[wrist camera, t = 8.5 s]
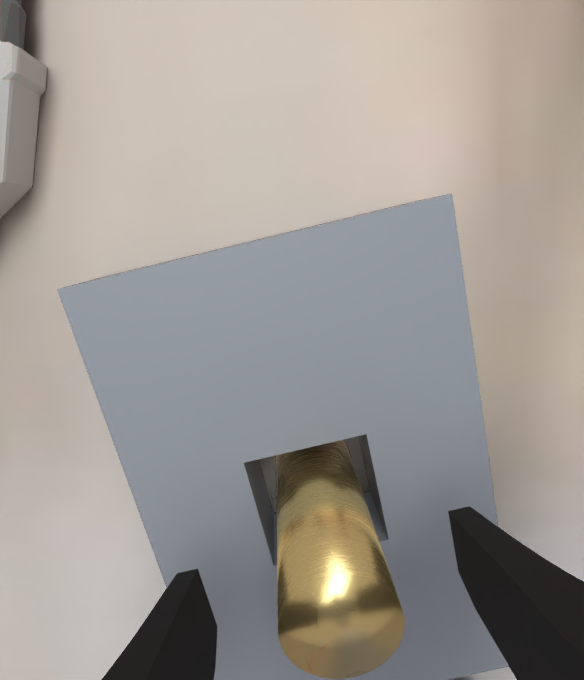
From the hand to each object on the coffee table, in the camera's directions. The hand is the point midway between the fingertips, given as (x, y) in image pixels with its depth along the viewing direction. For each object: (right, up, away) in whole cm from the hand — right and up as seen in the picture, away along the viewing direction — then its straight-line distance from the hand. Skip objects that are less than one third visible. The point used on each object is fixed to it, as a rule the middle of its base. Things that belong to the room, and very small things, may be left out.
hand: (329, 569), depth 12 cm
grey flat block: (0, +2, +6) cm, 6 cm away
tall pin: (0, +2, +6) cm, 6 cm away
